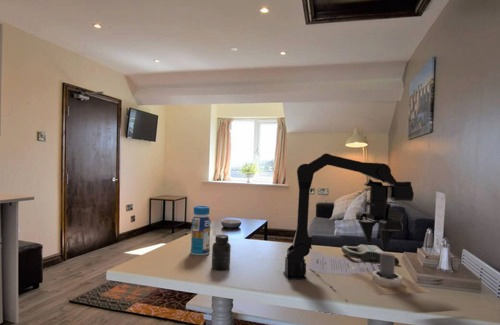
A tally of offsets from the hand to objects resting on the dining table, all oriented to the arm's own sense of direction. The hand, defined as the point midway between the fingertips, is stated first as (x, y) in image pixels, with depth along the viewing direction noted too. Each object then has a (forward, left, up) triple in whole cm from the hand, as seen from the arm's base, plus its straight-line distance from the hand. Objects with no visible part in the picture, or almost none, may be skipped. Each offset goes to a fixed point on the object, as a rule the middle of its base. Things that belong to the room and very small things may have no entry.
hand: (376, 245), depth 106 cm
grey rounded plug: (+2, -3, -11) cm, 12 cm away
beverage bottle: (-58, +40, -13) cm, 71 cm away
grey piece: (+12, +25, -13) cm, 31 cm away
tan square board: (+2, -3, -13) cm, 13 cm away
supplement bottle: (-51, +20, -13) cm, 56 cm away
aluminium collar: (+2, -3, -11) cm, 12 cm away
